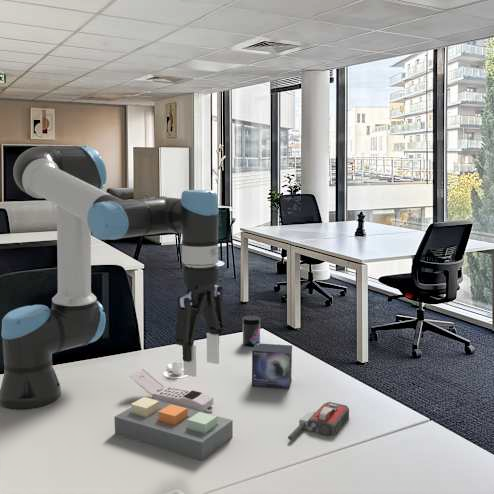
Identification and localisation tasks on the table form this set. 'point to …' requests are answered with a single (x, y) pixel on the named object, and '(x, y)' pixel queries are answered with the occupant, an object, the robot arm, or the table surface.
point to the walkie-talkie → (323, 420)
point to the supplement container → (251, 330)
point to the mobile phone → (173, 393)
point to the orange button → (172, 414)
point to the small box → (272, 365)
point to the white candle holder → (175, 369)
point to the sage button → (202, 422)
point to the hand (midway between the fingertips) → (201, 368)
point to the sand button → (145, 407)
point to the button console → (174, 433)
